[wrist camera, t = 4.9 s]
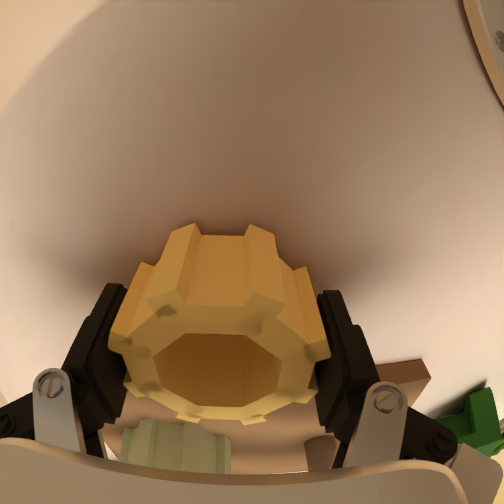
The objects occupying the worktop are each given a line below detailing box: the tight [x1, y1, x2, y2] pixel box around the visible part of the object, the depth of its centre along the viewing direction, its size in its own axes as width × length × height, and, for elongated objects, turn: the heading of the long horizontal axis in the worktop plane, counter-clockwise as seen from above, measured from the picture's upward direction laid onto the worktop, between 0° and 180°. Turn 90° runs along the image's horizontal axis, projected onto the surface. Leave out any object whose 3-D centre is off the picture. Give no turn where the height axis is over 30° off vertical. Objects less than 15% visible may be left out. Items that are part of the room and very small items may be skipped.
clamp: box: [435, 387, 502, 457], centre depth 20 cm, size 12×6×9 cm, turn 20°
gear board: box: [101, 359, 431, 474], centre depth 15 cm, size 12×20×7 cm, turn 87°
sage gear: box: [118, 418, 231, 474], centre depth 15 cm, size 7×7×4 cm
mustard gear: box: [108, 223, 331, 425], centre depth 11 cm, size 7×7×4 cm
